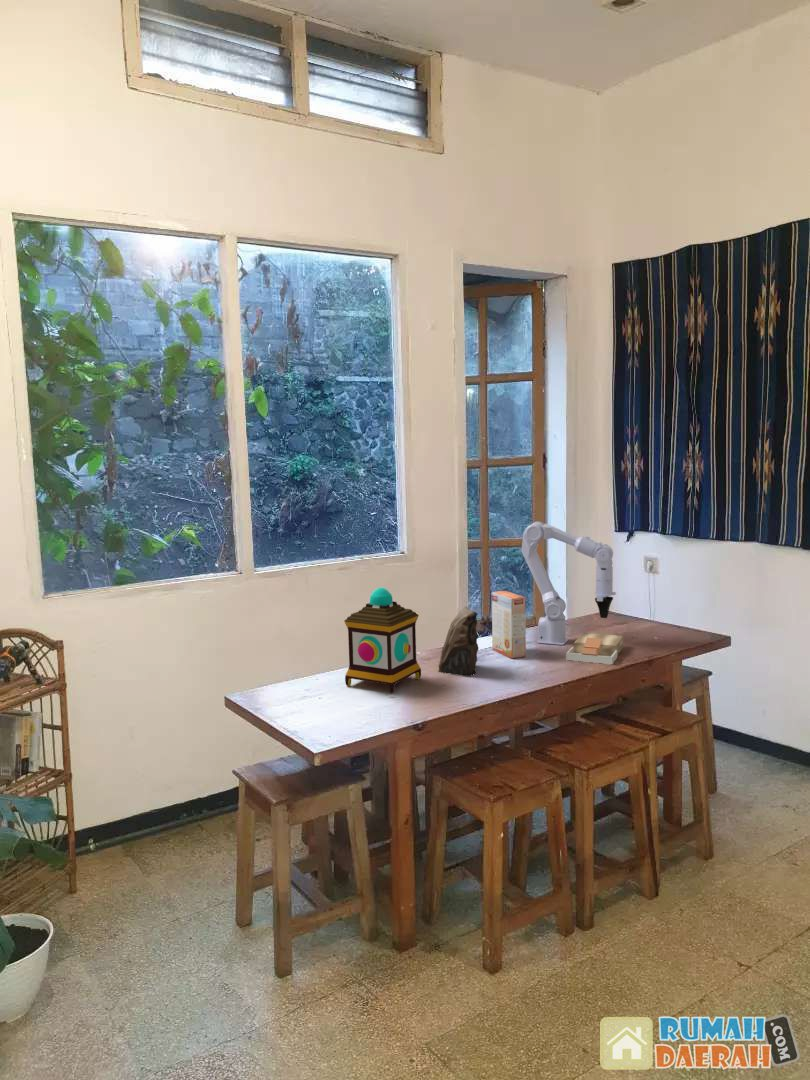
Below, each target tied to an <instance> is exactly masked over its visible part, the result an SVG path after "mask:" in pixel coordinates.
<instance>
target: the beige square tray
mask: <svg viewBox="0 0 810 1080" xmlns="http://www.w3.org/2000/svg"><path fill="white" fill-rule="evenodd" d="M587 637H588V638H600V639H602V646H601V649H600V653H599V655H604V656H612V654H613V653H614V652H615V650H616V651H617V656H618V655H619V654H620V652H621V651H622V650H623V649H624V635H615V634H604V633H603V634H602V633H591V632H583V633H582V634H581V635H580V636H579V637H578V638H577V639H576V640H575V641H574V642H573V647H574V653H581V648H582V647H583V648H584V645H585V642H586V639H587ZM621 649H622V650H621ZM618 653H619V654H618Z"/></svg>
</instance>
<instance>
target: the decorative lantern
mask: <svg viewBox="0 0 810 1080" xmlns="http://www.w3.org/2000/svg"><path fill="white" fill-rule="evenodd" d="M419 617H420V616H419V614H418V613H417V612H416V611H413V609H410V608H405V607H403V606H402V605H400V604H398V602H397V601H394V600H393V595H392V594H391V593H390V591H389V590H387V589H386V588H384V587H378V588H376V589H375V590H374V591H373V592H371V594H370V596H369V602H368V603H365V606H363V607H362V608H361V609H359V610H358V611H356V612H352V613H351V614H350V616H347V618H346V619H344V624H345V626H346V628H347V632H348V637H347V638H348V639H347V640H348V661H349V663H348V664H349V666H348V669H347V671H346V673H345V676H344V681H345V686H346V687H350V686H351V685H352V680H358V681H362V682H363V681H364V682H370V683H376V684H377V683H378V684H383V685H386V686H387V687H388V690H389V691H388V692H389V694H394V692H395V685H396V684H397V683H400V682H401V681H403V680H405V679H407V678H409V677H411V676H412V675H415V679H416V680H420V679H421V676H422V669H421V667H420V664H419V662H418V661H417V645H416V644H417V637H416V636H417V634H416V625H417V621H418V618H419Z"/></svg>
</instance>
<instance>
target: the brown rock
mask: <svg viewBox="0 0 810 1080" xmlns="http://www.w3.org/2000/svg"><path fill="white" fill-rule="evenodd" d="M478 615H479V614H478V613H477V612H476V611H475V610H472V609H470V608H469V607H468V606H465V605H464V607H463V608H462V609H461V610H460V611H459V612H458V613H457V614H456V615H455V617H454V618H453V620H452V621H451V623H450V626H449V628H448V630H447V631H448V632H447V634H446V638H445V641H444V644H443V646H442V648H441V653H440V657H439V659H440V660H439V662H438V671H437V672H438V673H442V672H443V674H448V673H451V674H450V675H454V674H457V675H456V676H461V675H462V676H461V677H472V676H474V675H476V674H477V673H476V671H475V670H476V667H477V666H476V665H477V662H478V652H479V645H478V641H477V640H478V635H477V625H478V619H477V617H478ZM475 673H476V674H475ZM473 674H474V675H473ZM471 675H472V676H471Z"/></svg>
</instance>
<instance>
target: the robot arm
mask: <svg viewBox="0 0 810 1080" xmlns="http://www.w3.org/2000/svg"><path fill="white" fill-rule="evenodd" d="M549 539H554V540H557V541H560V542H562V543H564V544H567V545H570V546H572V547H574V550H575V551H576V552H578V553H581V554H582V555H584V556H587V557H590V558H591V559H593V558H595V560H596V566H595V591H594V594H595V596H596V597H595V598H594V601H595V603H596V605H597V608H598V612H599V617H600V618H601V619H607V618H608V616H609V611H610V607H611V604H612V602H613V600H614V597H613V596H616V595H617V592H616V591H613V584H614V583H613V579H614V578H613V573H614V572H613V569H614V567H613V556H614V550H613V548H612V547H611V546H610V545H608V544H603V542H601V541H599V542H597V541H594V540H593V539H591V538H590V536H587V535H586V536H583V535H582V536H580V537H577V536H574V535H572V534H570V533H568V532H566V531H563V530H562V529H560V528H558V527H556V526H553V525H550V524H548V523H544V522H542V521H534V522H533V523H531V524H530V525H528V526H527V527H526V528H525V529H524V532H523V534H522V543H521V554H522V555H523V558H524V561H525V562H526V564H527V566H528V568H529V569H528V570H530V573H531V574H532V575H531V576H532V577H533V579H534V582H535V583H536V586H537V588H538V590H539V592H540V595H541V597H542V598H541V599H542V604H543V605H544V614H545V616H540V617H539V620H538V624H537V626H538V628H537V629H538V631H537V634H538V635H537V637H538V641H537V643H538V644H546V645H547V644H548V645H558V646H559V645H560V646H564V645H565V644H567V642H569V639H570V638H566V618H567V617H566V615H565V614H564V612H565V610H566V608H567V604H566V602H565V600H564V599H563V598H561V597H560V595H559V593H558V592H557V591H556V589H555V587H554V586H553V583H552V581H551V579H550V577H549V575H548V573H547V571H546V568H545V567H544V563H543V562H542V559H541V558H540V556H539V555H540V554H539V553H538V551H537V549H538V547H539V545H540V542H541V541H542V540H549Z"/></svg>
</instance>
